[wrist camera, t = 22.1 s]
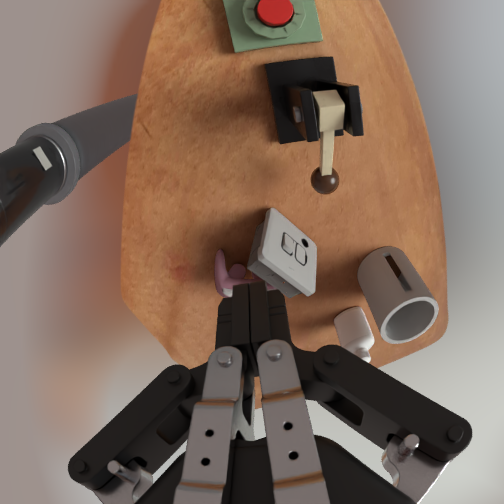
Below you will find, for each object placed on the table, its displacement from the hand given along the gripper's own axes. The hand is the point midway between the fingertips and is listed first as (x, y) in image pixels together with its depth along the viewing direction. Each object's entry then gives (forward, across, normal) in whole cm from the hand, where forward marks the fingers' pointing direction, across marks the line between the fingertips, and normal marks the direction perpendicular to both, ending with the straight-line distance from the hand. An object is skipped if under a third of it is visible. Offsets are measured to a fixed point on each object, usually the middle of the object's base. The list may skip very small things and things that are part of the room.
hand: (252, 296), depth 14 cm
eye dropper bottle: (+27, -12, +32) cm, 44 cm away
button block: (+27, -6, -16) cm, 32 cm away
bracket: (+27, -8, -5) cm, 29 cm away
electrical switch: (+27, -2, +14) cm, 31 cm away
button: (+24, -6, -16) cm, 29 cm away
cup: (+27, -18, +23) cm, 40 cm away
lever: (+20, -8, -1) cm, 22 cm away
